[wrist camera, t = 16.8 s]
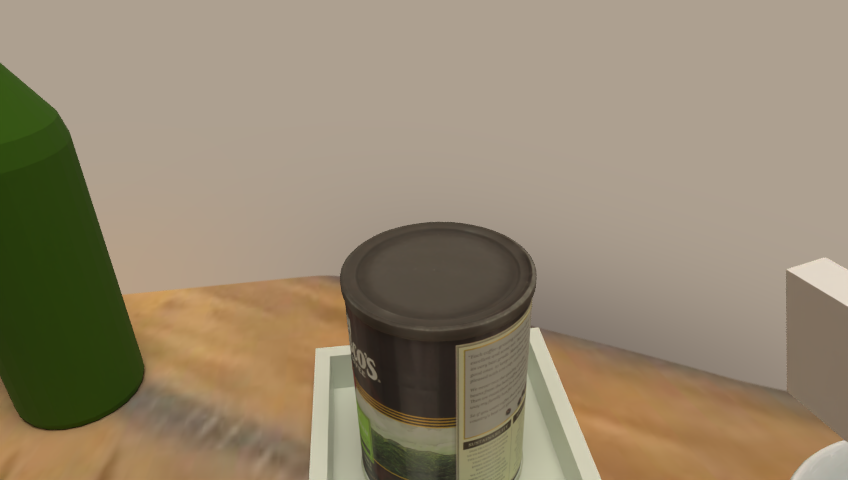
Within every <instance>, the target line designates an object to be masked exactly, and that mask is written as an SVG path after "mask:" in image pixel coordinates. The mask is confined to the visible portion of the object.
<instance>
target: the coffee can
mask: <svg viewBox="0 0 848 480" xmlns="http://www.w3.org/2000/svg"><path fill="white" fill-rule="evenodd" d="M340 284H341V291H342V295H343V298H344V300H345V305H346V315H347V324H348V332H349V342H350V350H351V360H352V369H353V377H354V385H355V394H356V403H357V413H358V422H359V430H360V441H361V449H362V456H361V465H362V470H363V474H364V477H365V479H366V480H519V477H520V475H521V471H522V465H523V451H522V446H523V432H524V416H525V400H526V389H527V370H528V355H529V340H530V325H531V310H532V297H533V295H534V292H535V288H536V268H535V264H534V262H533V260H532V258H531V256H530V255H529V254H528V252H527V251H526V250H525V249H524V248H522V246H520V245H519V244H518V243H516V242H515V241H514V240H512V239H510V238H509V237H507V236H505V235H503V234H500V233H498V232H496V231H493V230H490V229H487V228H483V227H479V226H474V225H468V224H463V223H454V222H427V223H419V224H412V225H407V226H402V227H398V228H395V229H391V230H388V231H385V232H383V233H380V234H378V235H376V236H374V237H372V238H370V239H369V240H367V241H365V242H364V243H363V244H361V245H360V246H358V247H357V248H356V249H355V250H354V251H353V252H352V253H351V254H350V255H349V256H348V257H347V259H346V260H345V262H344V264H343V266H342V269H341V274H340Z"/></svg>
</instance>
